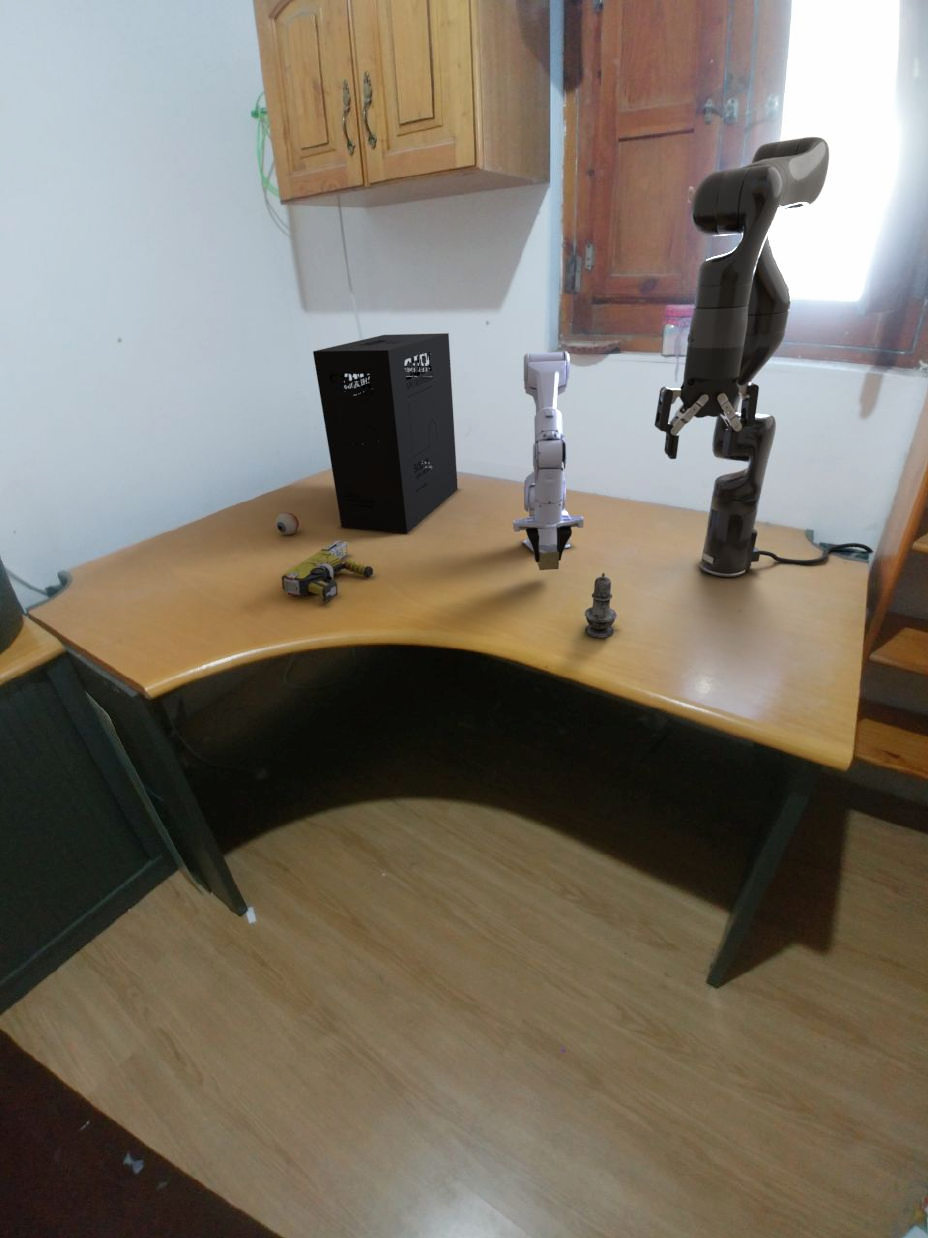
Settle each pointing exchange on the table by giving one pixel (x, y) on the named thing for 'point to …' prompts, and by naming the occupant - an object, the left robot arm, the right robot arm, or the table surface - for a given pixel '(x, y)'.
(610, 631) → the grey stone finial
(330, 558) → the toy gun
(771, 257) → the right robot arm
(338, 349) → the cardboard box
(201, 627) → the table surface
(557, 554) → the grey cube
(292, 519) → the eyeball
